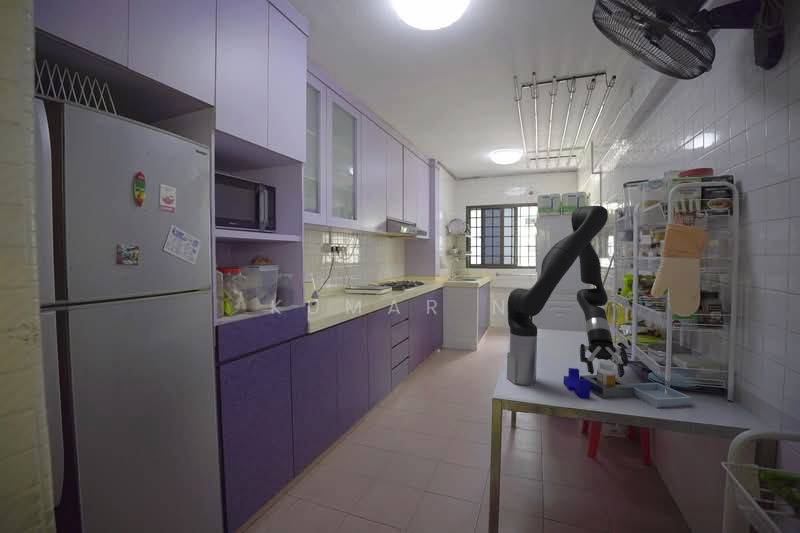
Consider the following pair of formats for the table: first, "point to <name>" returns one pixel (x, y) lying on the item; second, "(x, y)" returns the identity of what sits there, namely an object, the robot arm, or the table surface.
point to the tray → (660, 395)
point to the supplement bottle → (606, 373)
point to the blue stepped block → (577, 384)
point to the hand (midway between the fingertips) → (606, 374)
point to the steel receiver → (609, 388)
